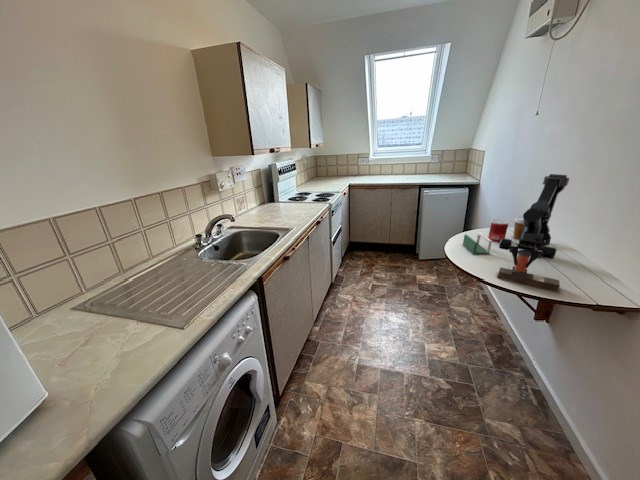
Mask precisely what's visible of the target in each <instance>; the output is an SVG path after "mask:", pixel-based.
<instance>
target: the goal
mask: <svg viewBox="0 0 640 480" xmlns="http://www.w3.org/2000/svg"><path fill="white" fill-rule="evenodd" d="M481 238H482V239H484V240H485V241H486V242H487V246H486V248H484V246H482V245H481V244H480V240H481ZM492 243H493V241H492V240H490V239H489V238H488V236H486V235H485V234H483V233H482V232H480V231H479V232H477V235H476V239H473V238H472V237H471V236H469V235H468V234H465V233H464V236H463V242H462V246H463V247H464V248H465V249H466V250H468V251H469V252H470V253H471V254H472V255H490V253H491V247H492Z"/></svg>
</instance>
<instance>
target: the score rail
mask: <svg viewBox="0 0 640 480" xmlns="http://www.w3.org/2000/svg"><path fill="white" fill-rule="evenodd" d="M511 273H512V268H511V269H510V268H506V267H499V270H498V274H497V279H500V280H506V281H508V282H509V281H510V282H513V283H518V284H521V285H525V286H526V285H527V286H530V287H533V288H534V287H535V288H538V289H542V290H547V291H551V292H555V293H558V292H559V289H560V287H561V285H560V283H561V282H560V280H559V279H556V278H551V277H546V276H543V275H540V274H534V273H529V272H527V276H526V278H523V277H519V276H515V275H511Z"/></svg>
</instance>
